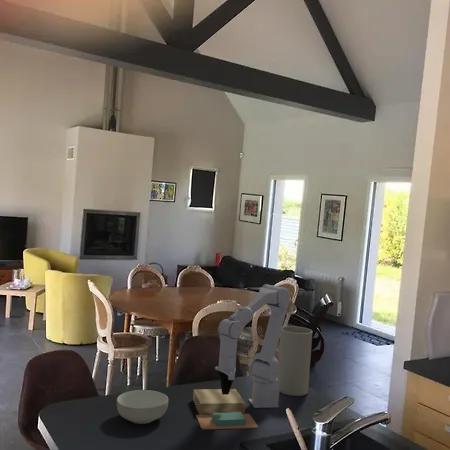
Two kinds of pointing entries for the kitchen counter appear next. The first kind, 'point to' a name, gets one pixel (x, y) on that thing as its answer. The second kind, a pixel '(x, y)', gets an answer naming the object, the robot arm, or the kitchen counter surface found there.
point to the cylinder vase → (294, 360)
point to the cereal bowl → (142, 405)
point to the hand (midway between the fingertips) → (225, 393)
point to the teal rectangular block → (228, 419)
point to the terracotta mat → (208, 423)
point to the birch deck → (217, 401)
